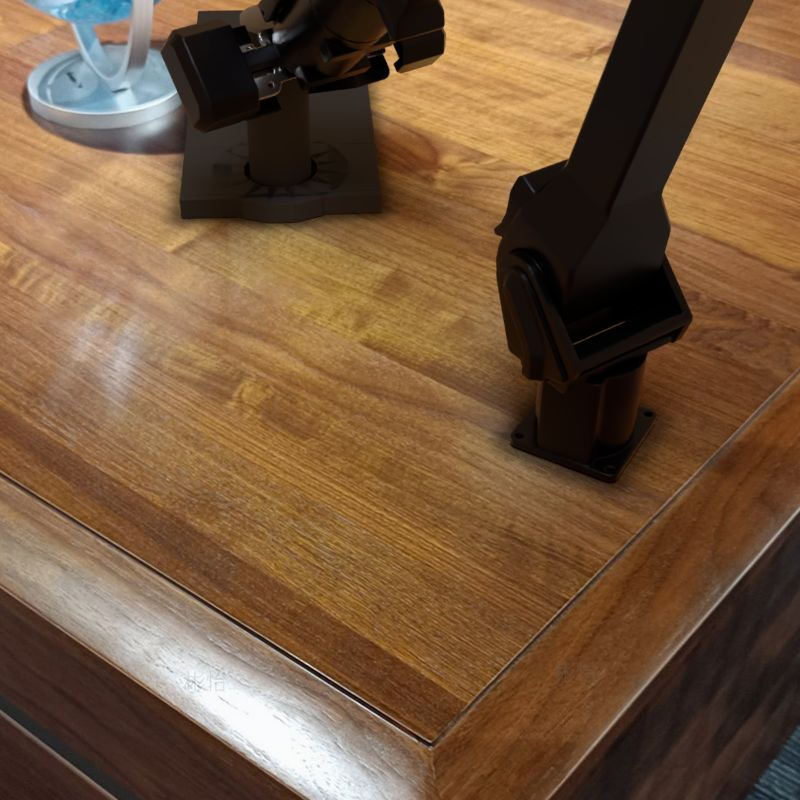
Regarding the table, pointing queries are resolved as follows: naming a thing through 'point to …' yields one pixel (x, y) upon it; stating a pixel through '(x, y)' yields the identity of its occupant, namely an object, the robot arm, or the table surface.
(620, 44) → the robot arm
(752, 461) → the table surface
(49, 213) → the table surface
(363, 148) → the board with round hole
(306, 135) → the cylinder post
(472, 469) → the table surface
